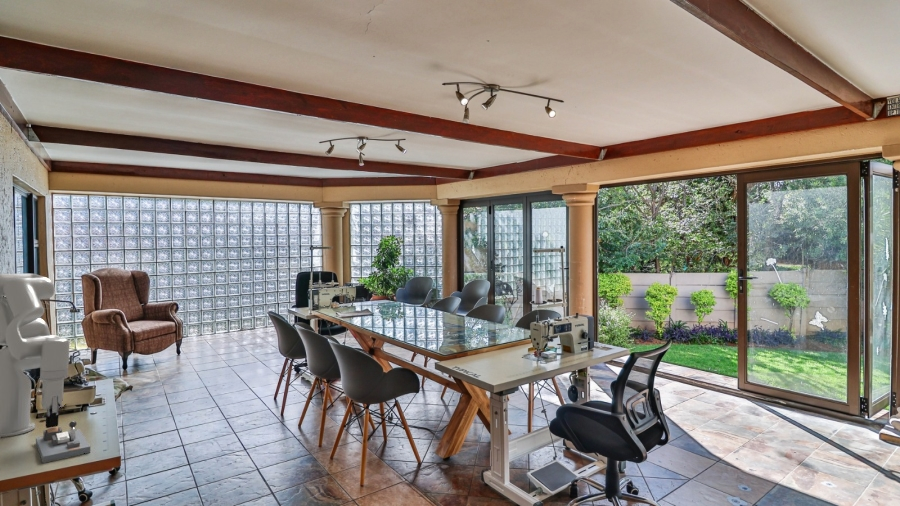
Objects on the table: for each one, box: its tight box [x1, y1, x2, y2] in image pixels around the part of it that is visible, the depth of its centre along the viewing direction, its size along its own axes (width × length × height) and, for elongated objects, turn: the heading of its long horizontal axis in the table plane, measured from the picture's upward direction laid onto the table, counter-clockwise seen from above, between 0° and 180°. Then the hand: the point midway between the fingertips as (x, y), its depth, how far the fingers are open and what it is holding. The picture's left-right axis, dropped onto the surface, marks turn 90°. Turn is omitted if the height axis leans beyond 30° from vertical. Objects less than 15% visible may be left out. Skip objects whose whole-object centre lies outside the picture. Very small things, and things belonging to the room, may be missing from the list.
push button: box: [46, 426, 59, 433], centre depth 163 cm, size 3×3×3 cm
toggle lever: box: [68, 420, 78, 440], centre depth 157 cm, size 2×2×6 cm
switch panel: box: [35, 427, 91, 464], centre depth 160 cm, size 22×12×4 cm, turn 46°
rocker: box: [56, 430, 70, 443], centre depth 160 cm, size 5×3×1 cm, turn 46°
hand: (51, 426), depth 163 cm, fingers closed
